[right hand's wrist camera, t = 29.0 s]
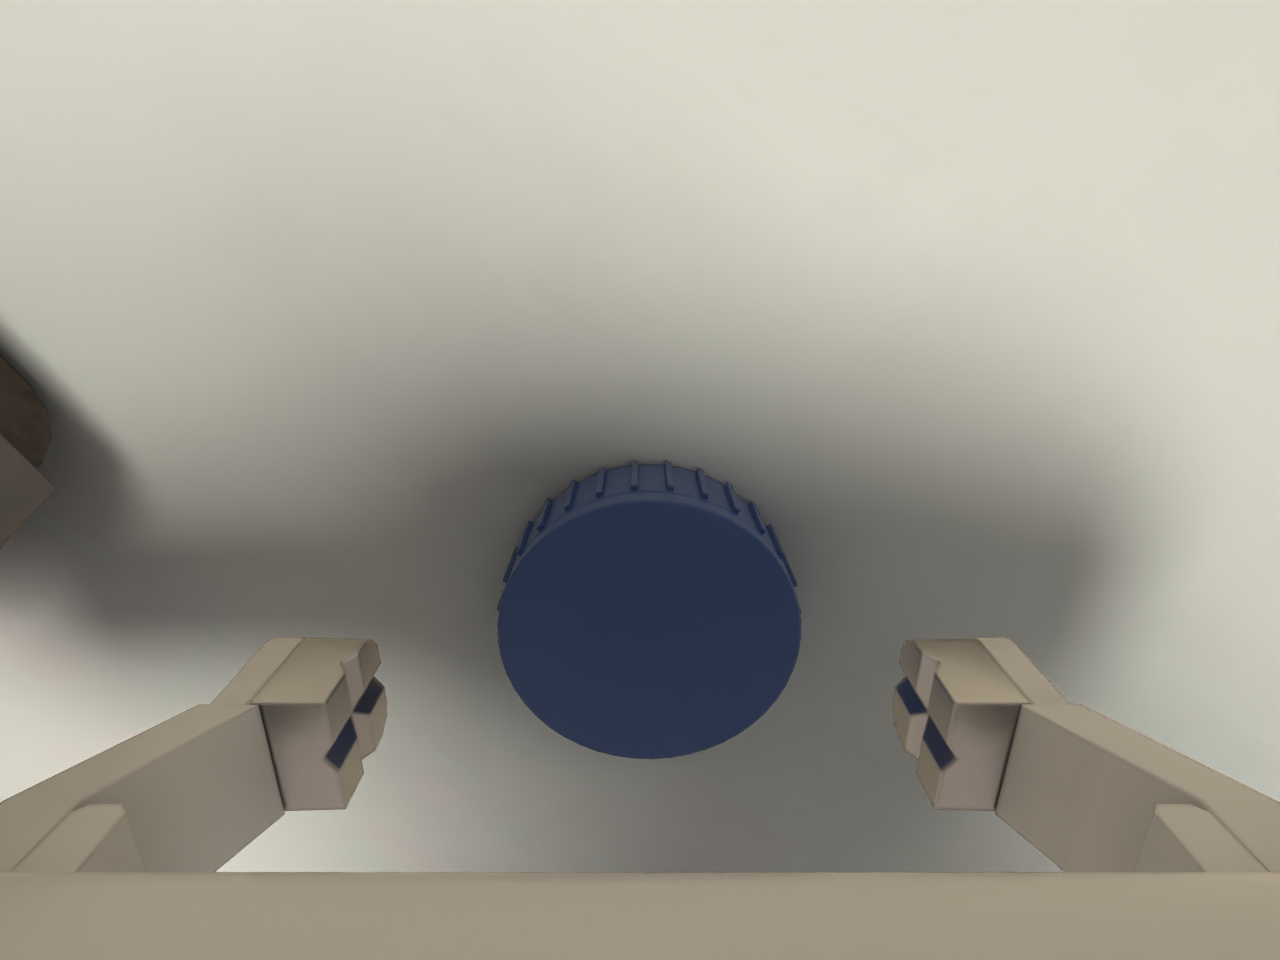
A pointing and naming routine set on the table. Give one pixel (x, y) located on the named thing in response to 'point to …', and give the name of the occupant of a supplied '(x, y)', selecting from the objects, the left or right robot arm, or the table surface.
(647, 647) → the lid
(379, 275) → the table surface
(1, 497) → the toy
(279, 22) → the table surface
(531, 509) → the table surface
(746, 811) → the table surface
